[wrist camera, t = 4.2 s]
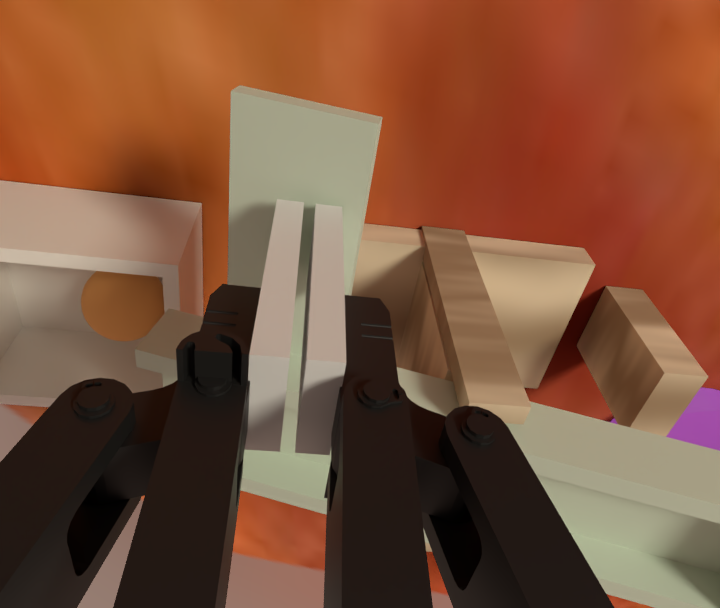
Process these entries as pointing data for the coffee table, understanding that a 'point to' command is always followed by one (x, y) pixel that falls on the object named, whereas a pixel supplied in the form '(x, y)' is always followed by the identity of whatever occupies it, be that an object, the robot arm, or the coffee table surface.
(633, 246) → the coffee table surface
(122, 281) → the ball
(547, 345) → the stand
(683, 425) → the figurine
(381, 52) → the coffee table surface
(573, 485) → the lever
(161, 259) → the dish
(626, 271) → the coffee table surface
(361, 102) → the coffee table surface
